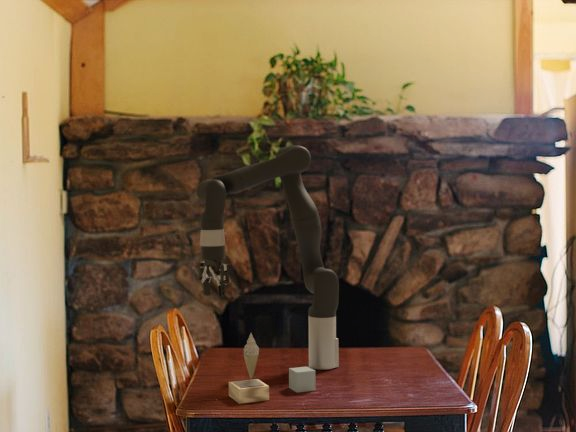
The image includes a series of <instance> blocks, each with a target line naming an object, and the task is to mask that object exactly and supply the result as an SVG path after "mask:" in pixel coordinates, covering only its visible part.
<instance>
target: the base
mask: <svg viewBox="0 0 576 432" xmlns="http://www.w3.org/2000/svg"><path fill="white" fill-rule="evenodd" d="M228 396H229V397H230V398H231V399H233V400H234V401H235V402H236V403H237V404H239V405H240V404H247V403H256V402H263V401H270V386H269V385H268V384H266V383H265V382H263V381H262V380H261V379H259V378H254V379H252V380H250V379H245V380H236V381H235V380H234V381H228Z"/></svg>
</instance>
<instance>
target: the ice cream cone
mask: <svg viewBox="0 0 576 432" xmlns="http://www.w3.org/2000/svg"><path fill="white" fill-rule="evenodd" d="M259 352H260V347H259V346H258V345H257V343H256V340H255V338H254V336H253V334H252V332H250V334H249V336H248V339H247V340H246V344H245V345H244V348H243V353H242V356H243V357H244V362H245V365H246V368H247V369H246V370H247V372H248V375H249V378H250V379H249V380H253V377H254V375H255V370H256V367H257V363H258V358H259V355H260V354H259Z"/></svg>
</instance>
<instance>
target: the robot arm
mask: <svg viewBox="0 0 576 432" xmlns="http://www.w3.org/2000/svg"><path fill="white" fill-rule="evenodd" d="M311 162H312V156H311V153H310V151H309V150H308V149H307V148H306V147H304V146H302V145H298V144H297V145H294V144H293V145H288V146H283V147H281V148H280V149H278V150H277V151H276V154H275V156H274V157H273V158H271V159H270V158H269V159H267V160H263V161H260V162H257V163H253V164H248V165H245V166H243V167H240V168H237V169H234V170H232V171H230V172H228V173H227V172H226V173H225V174H222V175H218V176H217V175H216V176H214V177H210V178H208V179H204V180H202V181H201V182H199V184H198V185H197V186H196V191H195V192H196V196H197V198H198V199H199V200H200V201H202V202H203V203H205V205H204V210H203V211H202V212H201V214H200V236H199V239H200V242H199V243H200V259H201V261H199V262H198V281H199V282H201V283H202V288H203V289H202V293H203V296H210V295H211V292H212V291H211V281H212V280H211V279H212V278H213V280H214V281H216V282H215V283H217V298H218V299H223V298H225V297H226V286H227V284H230V270H229V269H230V266H229V264H228V263H223V260H225V259H226V240H225V239H226V238H225V230H224V224H225V223H224V212H225V207H226V203H227V196H228V195H233V194H238V193H241V192H244V191H246V190H249V189H251V188H255V187H256V186H259V185H261V184H263V183H266V182H269V181H272V180H274V179H276V178H279V179H280V181H281V184H282V186H283V190H284V194H285V197H286V202H287V206H288V209H289V215H290V219H291V224H292V229H293V231H294V235H295V239H296V242H297V247H298V251H299V255H300V260H301V266H302V275H303V281H304V285H305V288H306V289H307V291H308V292H310V293H311V294H313V303H312V305H311V306H309V307H308V367H309V368H311V369H313V370H332V369H334V368H339V367H340V366H339V354H340V353H339V338H337V310H338V307H339V296H340V295H339V292H340V283H339V282H340V281H339V278H338V275H337V273H336V272H335V271H334V270H333V269H330V268H325V266H324V262H323V260H322V255H321V242H322V233H323V232H322V230H323V229H322V224H321V218H320V215H319V211H318V207H317V206H316V204H315V202H314V201H313V198H312V197H311V196H310V194H309V193H308V192H307V189H306V188H305V185H304V183H303V179H302V175H301V174H302V173H304V172H305V171H307V169H308V168H309V167H310V165H311Z"/></svg>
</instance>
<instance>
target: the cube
mask: <svg viewBox="0 0 576 432" xmlns="http://www.w3.org/2000/svg"><path fill="white" fill-rule="evenodd" d="M288 388H289V389H290V390H292V391H293V392H294V393H295V392H296V393H304V392H314V391H316V389H317V388H316V369H313V368H310V367H309V366H299V367H298V366H297V367H289V368H288Z"/></svg>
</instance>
